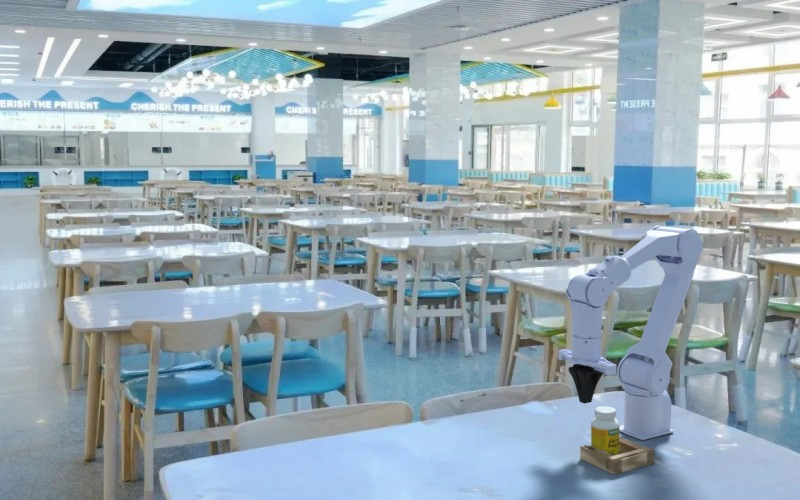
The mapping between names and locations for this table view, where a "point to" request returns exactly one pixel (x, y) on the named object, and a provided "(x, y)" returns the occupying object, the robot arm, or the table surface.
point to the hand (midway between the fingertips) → (585, 401)
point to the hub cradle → (619, 457)
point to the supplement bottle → (605, 430)
